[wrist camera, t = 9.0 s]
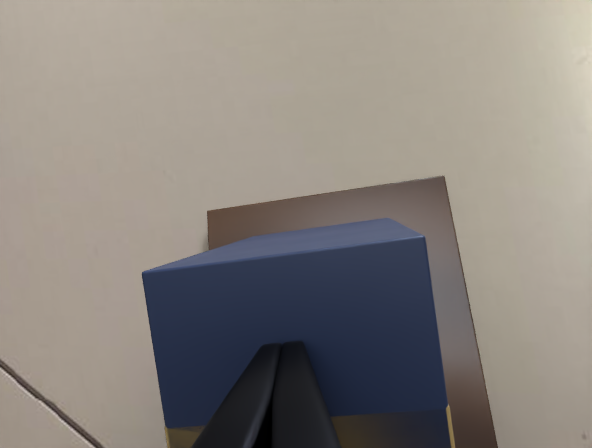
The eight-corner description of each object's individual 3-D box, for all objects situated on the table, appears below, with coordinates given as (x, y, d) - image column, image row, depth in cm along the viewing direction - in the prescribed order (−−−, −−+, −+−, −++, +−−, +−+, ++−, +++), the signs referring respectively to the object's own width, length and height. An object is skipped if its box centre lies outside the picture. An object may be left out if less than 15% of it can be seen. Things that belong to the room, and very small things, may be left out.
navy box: (480, 631, 9) (426, 234, 8) (194, 629, 9) (139, 272, 9) (415, 401, 18) (389, 217, 18) (278, 412, 19) (252, 236, 19)
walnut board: (551, 744, 16) (560, 765, 15) (237, 730, 18) (230, 749, 17) (441, 180, 21) (444, 174, 21) (212, 214, 23) (206, 210, 22)
